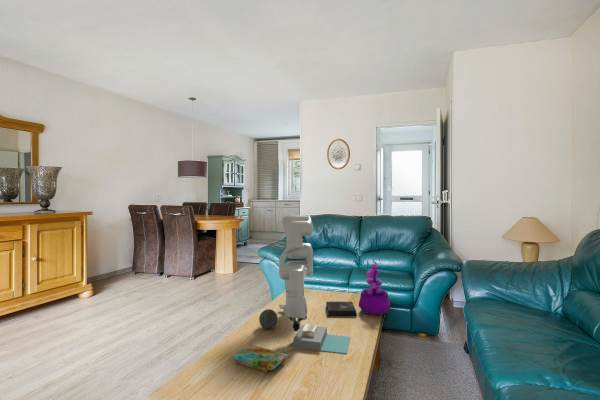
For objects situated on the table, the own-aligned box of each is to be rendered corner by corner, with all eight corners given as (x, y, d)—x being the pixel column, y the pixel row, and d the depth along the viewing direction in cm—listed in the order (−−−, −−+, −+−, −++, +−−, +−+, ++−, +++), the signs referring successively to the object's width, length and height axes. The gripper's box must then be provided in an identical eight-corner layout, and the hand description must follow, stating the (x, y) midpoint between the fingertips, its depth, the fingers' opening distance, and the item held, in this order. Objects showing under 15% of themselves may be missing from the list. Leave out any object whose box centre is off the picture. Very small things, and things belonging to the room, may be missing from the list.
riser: (293, 347, 155) (293, 339, 155) (302, 332, 172) (302, 324, 172) (320, 351, 152) (320, 342, 152) (326, 334, 169) (326, 327, 169)
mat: (320, 351, 152) (320, 350, 152) (326, 334, 169) (326, 334, 169) (346, 354, 149) (346, 353, 149) (350, 337, 166) (350, 336, 166)
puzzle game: (249, 342, 150) (287, 352, 141) (249, 352, 151) (287, 363, 141) (233, 353, 140) (272, 364, 131) (233, 364, 140) (272, 376, 131)
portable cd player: (356, 317, 195) (357, 310, 195) (328, 317, 195) (328, 310, 195) (353, 307, 211) (353, 301, 211) (326, 307, 212) (326, 301, 212)
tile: (302, 335, 159) (302, 330, 159) (305, 329, 167) (305, 324, 167) (314, 336, 157) (314, 331, 157) (317, 330, 165) (317, 325, 165)
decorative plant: (374, 320, 189) (374, 268, 188) (352, 311, 204) (352, 262, 204) (396, 314, 199) (397, 264, 198) (374, 305, 214) (374, 259, 214)
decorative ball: (255, 329, 176) (255, 311, 176) (265, 323, 185) (265, 305, 184) (271, 333, 171) (271, 314, 171) (281, 326, 180) (281, 308, 180)
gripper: (279, 294, 162) (279, 331, 162) (309, 296, 158) (309, 334, 158) (284, 290, 169) (284, 325, 169) (312, 292, 165) (312, 328, 165)
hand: (296, 330), depth 164 cm, fingers closed
